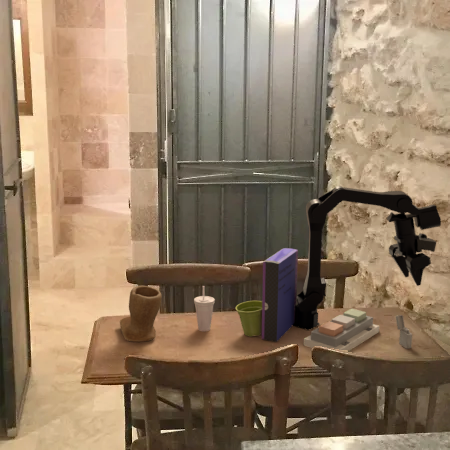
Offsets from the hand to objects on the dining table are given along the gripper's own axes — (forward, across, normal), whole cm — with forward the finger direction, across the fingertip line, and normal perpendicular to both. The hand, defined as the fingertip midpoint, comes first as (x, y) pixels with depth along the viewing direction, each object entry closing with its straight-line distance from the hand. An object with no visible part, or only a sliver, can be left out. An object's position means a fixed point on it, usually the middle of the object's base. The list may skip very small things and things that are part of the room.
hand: (412, 281), depth 204 cm
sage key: (+7, -1, +20) cm, 22 cm away
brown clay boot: (-2, +2, +84) cm, 84 cm away
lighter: (+14, -11, +10) cm, 21 cm away
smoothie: (+2, +5, +66) cm, 66 cm away
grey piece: (+10, -6, +26) cm, 29 cm away
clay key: (+6, -11, +30) cm, 33 cm away
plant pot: (+4, 0, +51) cm, 51 cm away
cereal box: (+6, +1, +43) cm, 44 cm away
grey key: (+6, -6, +25) cm, 27 cm away
